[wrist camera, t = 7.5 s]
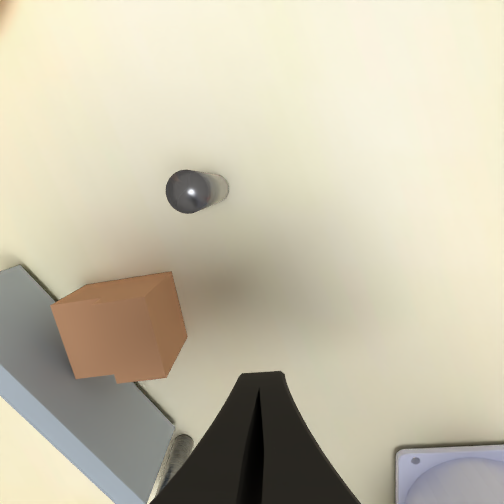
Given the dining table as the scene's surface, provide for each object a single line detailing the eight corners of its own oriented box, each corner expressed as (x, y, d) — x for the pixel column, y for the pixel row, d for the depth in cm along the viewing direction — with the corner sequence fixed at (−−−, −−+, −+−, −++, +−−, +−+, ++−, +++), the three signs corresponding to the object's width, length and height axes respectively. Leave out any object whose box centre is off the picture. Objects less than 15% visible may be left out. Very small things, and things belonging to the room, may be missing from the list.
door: (19, 264, 16) (-72, 295, 12) (175, 426, 18) (146, 504, 14) (-6, 287, 17) (-103, 325, 12) (149, 443, 19) (113, 524, 14)
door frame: (230, 176, 15) (208, 173, 9) (188, 490, 20) (157, 614, 14) (203, 172, 15) (164, 166, 9) (168, 487, 20) (128, 609, 14)
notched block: (172, 270, 16) (144, 296, 13) (188, 335, 17) (166, 377, 14) (87, 283, 17) (37, 312, 13) (107, 346, 18) (65, 390, 14)
